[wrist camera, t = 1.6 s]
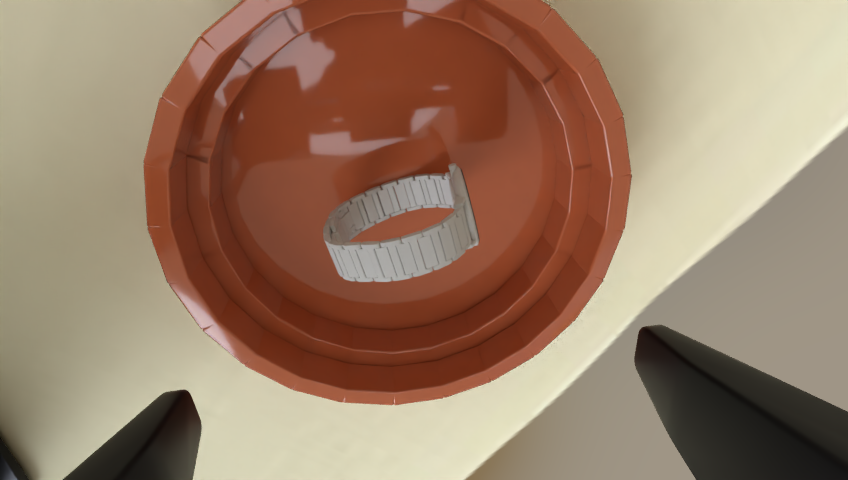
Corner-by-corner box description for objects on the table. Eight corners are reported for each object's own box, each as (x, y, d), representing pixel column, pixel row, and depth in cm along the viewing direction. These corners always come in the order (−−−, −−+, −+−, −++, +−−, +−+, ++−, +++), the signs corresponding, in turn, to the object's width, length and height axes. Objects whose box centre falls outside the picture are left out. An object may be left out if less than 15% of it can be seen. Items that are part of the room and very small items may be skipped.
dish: (571, 324, 23) (604, 376, 19) (241, 368, 21) (221, 430, 18) (604, -53, 16) (665, -67, 12) (118, -19, 14) (52, -25, 11)
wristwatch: (466, 209, 19) (499, 272, 14) (345, 245, 19) (341, 319, 14) (449, 140, 17) (479, 187, 13) (319, 179, 18) (305, 238, 13)
